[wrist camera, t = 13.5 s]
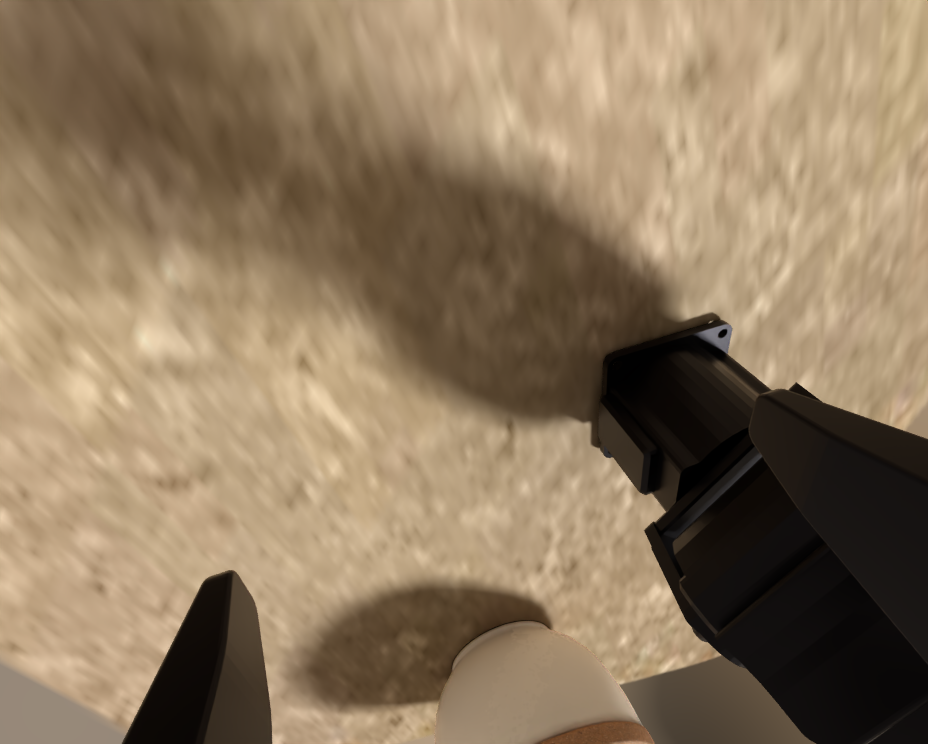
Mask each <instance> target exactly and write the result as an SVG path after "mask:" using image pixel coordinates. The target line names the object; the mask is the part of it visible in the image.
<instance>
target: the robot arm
mask: <svg viewBox="0 0 928 744" xmlns="http://www.w3.org/2000/svg"><path fill="white" fill-rule="evenodd" d="M731 333H732V327H731V325H729V324H728V323H727V322H725V321H723V320H719V321H715V322H712V323H709V324H705V325H702V326H699V327H695V328H692V329H689V330H685V331H682V332H679V333H676V334H672V335H669V336H666V337H662V338H659V339H656V340H652V341H649V342H646V343H642V344H639V345H636V346H632V347H629V348H626V349H622V350H619V351H616V352H613V353H611V354H609V355H608V356H607V357H606V358H605V360H604V362H603V381H602V396H601V399H600V401H599V424H598V437H599V439H600V450H601V452H602V453H603V455H604V456H605V457H607V458H611V457H613V458H614V459H615V460H616V462H617V463H618V464H619V466H620V467H621V468H622V470H623V471H624V472H625V474H626V475H627V476H628V478H629V479H630V480H631V482H632V483H633V484H634V486H635V487H636V488H637V490H638V491H639V492H640V493H642V494H644V495H647V494H650V493H652V494H653V495H654V497H655V498H656V499H657V500H658V502H659V503H660V504H661V506H662V507H663V508H664V510H665V511H666V513H665V514H663V515H662V516H661V517H660V518H659V519H658V520H657V521H656V522H652V523H651V524H650V525H649V526H648V527H647V528H646V529H645V530H644V531H645V533H646V535H647V538H648V540H649V542H650V544H651V546H652V547H651V548H652V551H653V553H654V555H655V557H656V559H657V561H658V563H659V565H660V567H661V569H662V571H663V574H664V576H665V578H666V580H667V582H668V584H669V586H670V588H671V590H672V592H673V594H674V597H675V599H676V601H677V603H678V605H679V607H680V609H681V611H682V613H683V615H684V617H685V619H686V621H687V622H688V623H689V625H690V626H691V627H692V629H693V632H694V633H695V635H696V636H697V637H698V638H699V639H700V640H702V641H704V642H708V643H709V644H710V645H711V646H712V647H713V648H715V649H716V650H717V651H718V652H719V653H720V654H721V655H723V656H724V657H725V658H727V659H728V660H729V661H731V662H733V663H734V664H736V665H738V666H740V667H743V668H747V669H748V671H749V672H750V673H751V674H752V675H753V676H754V677H755V678H756V679H757V680H758V681H759V682H760V683H761V684H762V685H763V687H764V688H765V689H766V690H767V691H768V692H769V694H770V695H771V696H772V697H773V698H774V699H775V701H776V702H777V703H778V704H779V706H780V707H781V708H782V709H783V710H784V712H785V713H786V714H787V715H788V717H789V718H790V719H791V720H792V722H793V723H794V724H795V725H796V726H797V728H798V729H799V730H800V731H801V733H802V734H803V735H804V736H805V737H807V738H808V739H809V740H811V741H813V742H815V743H816V744H928V439H926V438H923V437H920V436H917V435H915V434H912V433H909V432H906V431H903V430H900V429H897V428H895V427H892V426H889V425H886V424H883V423H880V422H877V421H875V420H872V419H869V418H866V417H863V416H860V415H857V414H854V413H852V412H849V411H846V410H843V409H840V408H837V407H834V406H832V405H829V404H826V403H823V402H822V401H820V400H819V399H818V398H816V397H815V396H814V395H812V394H811V393H810V392H808V391H807V390H806V389H804V388H803V387H802V386H800V385H799V384H798V383H795V384H794V385H793V386H792V387H791V388H790V389H789V390H785V389H775V390H771V389H769V388H768V387H767V386H766V385H764V384H763V383H762V382H761V381H760V380H758V379H757V378H756V377H755V376H753V375H752V374H751V373H750V372H749V371H747V370H746V369H745V368H744V367H742V366H741V365H740V364H739V363H738V362H736V361H735V360H734V359H733V358H731V357H730V356H729V355H728V354H727V353H728V348H729V343H730V338H731ZM615 362H617V363H616V364H614V363H615ZM613 364H614V365H613ZM122 744H272V723H271V708H270V700H269V692H268V685H267V678H266V670H265V663H264V656H263V649H262V642H261V634H260V627H259V620H258V613H257V608H256V605H255V602H254V599H253V597H252V596H251V594H250V593H249V591H248V589H247V588H246V586H245V585H244V583H243V582H242V580H241V578H240V577H239V575H238V574H237V573H236V572H235V571H233V570H228V571H225V572H222V573H219V574H216V575H213V576H210V577H208V578H207V579H206V580H205V581H204V582H203V583H202V585H201V587H200V589H199V591H198V593H197V595H196V597H195V599H194V601H193V603H192V605H191V607H190V609H189V611H188V613H187V615H186V617H185V619H184V621H183V623H182V625H181V627H180V629H179V631H178V633H177V635H176V637H175V639H174V641H173V643H172V645H171V647H170V649H169V651H168V653H167V655H166V657H165V659H164V660H163V662H162V664H161V666H160V668H159V670H158V672H157V674H156V676H155V678H154V680H153V682H152V684H151V686H150V688H149V690H148V692H147V694H146V696H145V698H144V700H143V702H142V704H141V706H140V708H139V710H138V712H137V714H136V716H135V718H134V720H133V722H132V724H131V726H130V728H129V730H128V732H127V734H126V736H125V738H124V740H123V742H122Z"/></svg>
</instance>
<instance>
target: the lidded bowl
mask: <svg viewBox="0 0 928 744" xmlns="http://www.w3.org/2000/svg"><path fill="white" fill-rule="evenodd" d="M435 744H655V743H654V741H653V739H652V738H651V736H650V734H649V733H648V731H647V730H646V729H645V727H643V726H642V724H641V722H640V720H639V718H638V716H637V715H636V713H635V711H634V709H633V707H632V705H631V704H630V702H629V700H628V698H627V697H626V695H625V693H624V692H623V690H622V689H621V687H620V686H619V684H618V683H617V681H616V680H615V678H614V677H613V676H612V674H611V673H610V672H609V671H608V669H607V668H606V667H605V666H604V665H603V663H602V662H601V661H600V660H599V659H598V657H597V656H596V655H594V654H593V653H592V652H591V651H590V650H589V649H588V648H587V647H585V646H584V645H582V644H581V643H579V642H578V641H576V640H574V639H573V638H571V637H569V636H567V635H565V634H562V633H559V632H556V631H553V630H550V629H548V627H547V626H545V625H544V624H542V623H539V622H535V621H518V622H513V623H508V624H505V625H502V626H499V627H496V628H494V629H492V630H489V631H487V632H485V633H484V634H482V635H480V636H478V637H477V638H475V639H474V640H473V641H471V642H470V643H469V644H468V645H466V646H465V647H464V648H463V649H462V650H461V651H460V652H459V654H458V655H457V656H456V658H455V660H454V662H453V665H452V673H451V675H450V677H449V679H448V680H447V682H446V684H445V687H444V689H443V691H442V694H441V697H440V701H439V705H438V709H437V713H436V721H435Z"/></svg>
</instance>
